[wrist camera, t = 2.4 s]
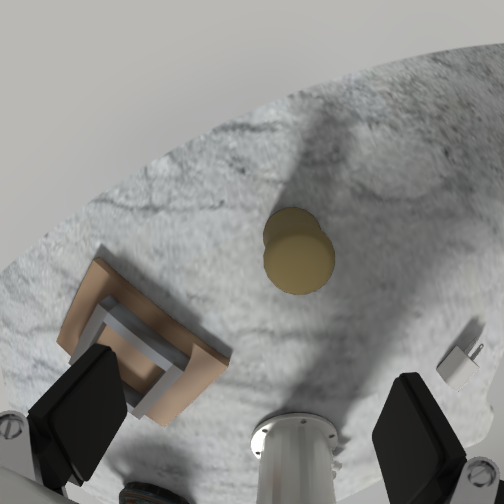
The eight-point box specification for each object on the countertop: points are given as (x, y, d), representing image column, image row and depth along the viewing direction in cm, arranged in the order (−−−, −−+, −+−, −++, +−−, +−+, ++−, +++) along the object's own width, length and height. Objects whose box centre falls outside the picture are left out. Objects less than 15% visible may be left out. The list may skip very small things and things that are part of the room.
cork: (257, 213, 30) (247, 230, 20) (315, 201, 30) (337, 212, 19) (269, 270, 32) (266, 314, 21) (326, 259, 31) (350, 297, 20)
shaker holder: (229, 360, 34) (224, 382, 30) (167, 421, 38) (158, 441, 34) (99, 257, 33) (79, 266, 28) (61, 337, 36) (44, 351, 32)
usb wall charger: (434, 368, 33) (446, 384, 29) (466, 329, 31) (481, 342, 28) (448, 377, 33) (459, 393, 29) (478, 340, 32) (492, 353, 28)
